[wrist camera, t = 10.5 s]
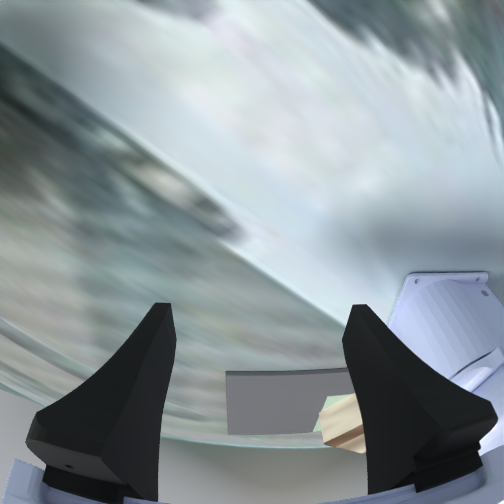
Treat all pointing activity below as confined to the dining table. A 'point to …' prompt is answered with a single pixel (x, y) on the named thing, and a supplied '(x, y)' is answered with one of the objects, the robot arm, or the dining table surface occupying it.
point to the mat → (282, 399)
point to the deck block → (343, 425)
